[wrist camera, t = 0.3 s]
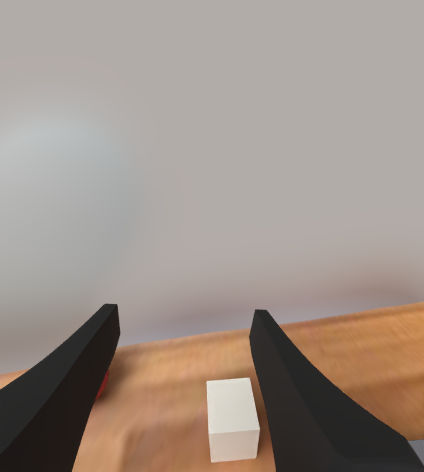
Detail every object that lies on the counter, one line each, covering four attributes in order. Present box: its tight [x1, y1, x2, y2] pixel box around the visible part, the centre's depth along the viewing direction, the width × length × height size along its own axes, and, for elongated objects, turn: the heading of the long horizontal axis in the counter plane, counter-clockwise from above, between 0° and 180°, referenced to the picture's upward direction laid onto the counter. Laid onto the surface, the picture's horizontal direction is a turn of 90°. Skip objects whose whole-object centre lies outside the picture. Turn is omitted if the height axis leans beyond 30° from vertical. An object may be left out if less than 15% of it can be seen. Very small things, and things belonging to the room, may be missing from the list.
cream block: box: [207, 378, 260, 463], centre depth 24 cm, size 4×4×6 cm
